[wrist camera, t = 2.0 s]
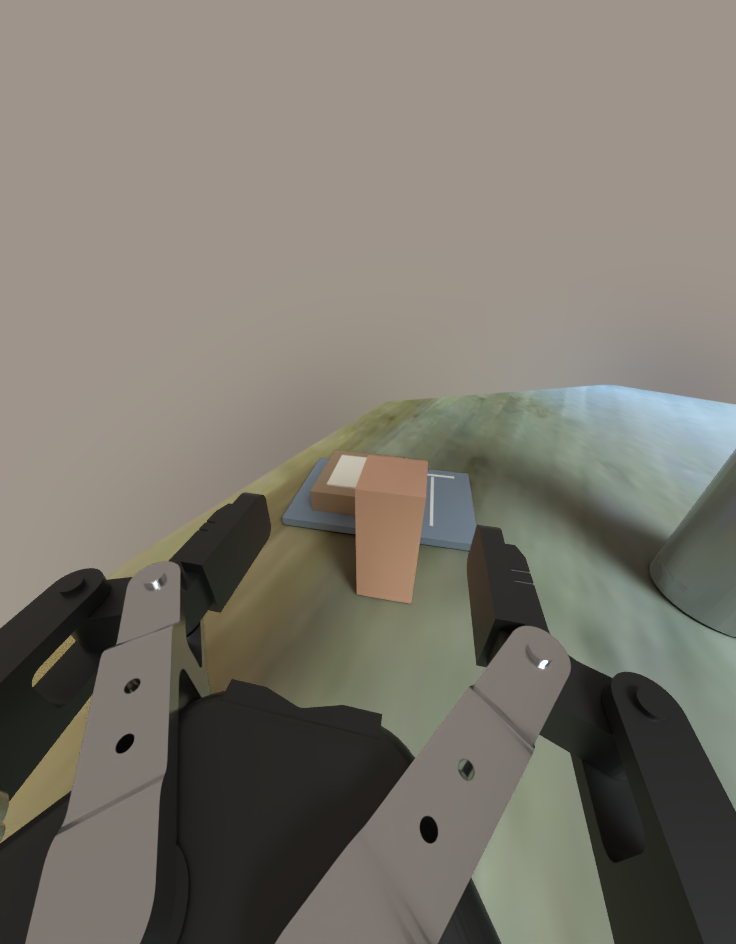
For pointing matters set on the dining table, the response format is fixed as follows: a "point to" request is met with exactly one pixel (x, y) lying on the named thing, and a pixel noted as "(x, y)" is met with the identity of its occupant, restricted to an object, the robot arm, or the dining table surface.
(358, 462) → the blueprint board
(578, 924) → the dining table surface
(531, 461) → the dining table surface
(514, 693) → the robot arm
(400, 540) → the terracotta pillar
